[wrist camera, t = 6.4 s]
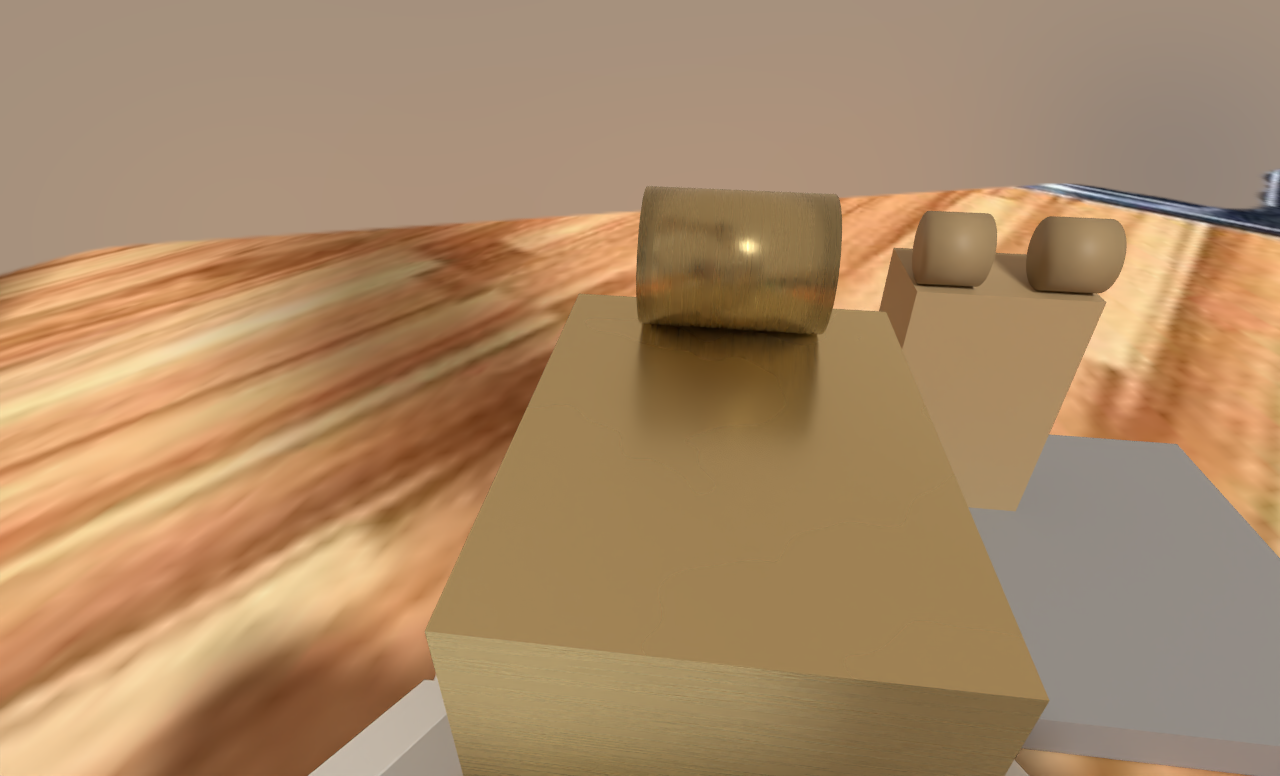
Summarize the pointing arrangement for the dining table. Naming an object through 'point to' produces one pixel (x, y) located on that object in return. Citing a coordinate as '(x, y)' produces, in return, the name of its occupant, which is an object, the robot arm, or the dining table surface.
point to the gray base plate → (1089, 508)
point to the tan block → (730, 535)
